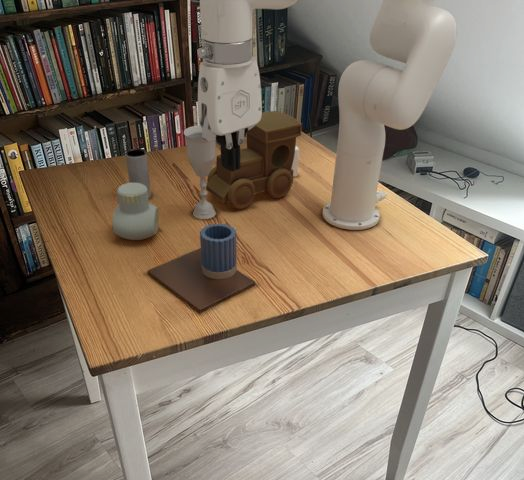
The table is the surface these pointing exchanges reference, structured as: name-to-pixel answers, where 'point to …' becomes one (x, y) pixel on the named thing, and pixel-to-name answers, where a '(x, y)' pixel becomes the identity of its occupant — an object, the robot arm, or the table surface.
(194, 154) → the chalice
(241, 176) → the wooden toy train
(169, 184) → the table surface
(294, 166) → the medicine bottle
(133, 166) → the grey pipe
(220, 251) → the tea cup
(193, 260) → the walnut board
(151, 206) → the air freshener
